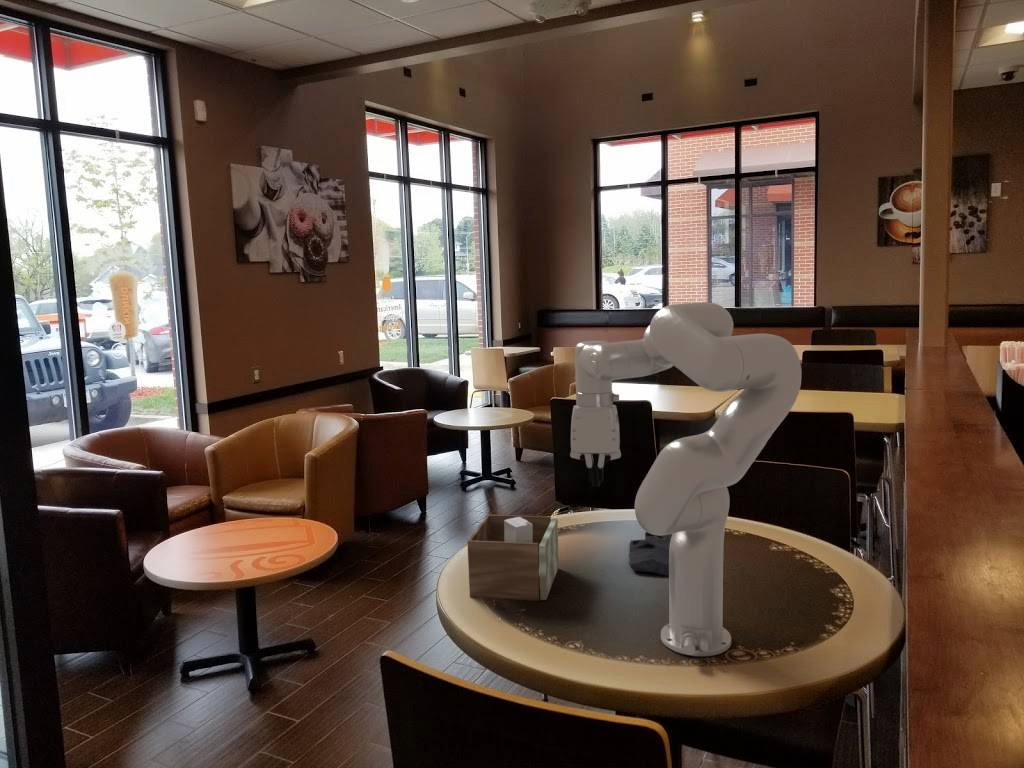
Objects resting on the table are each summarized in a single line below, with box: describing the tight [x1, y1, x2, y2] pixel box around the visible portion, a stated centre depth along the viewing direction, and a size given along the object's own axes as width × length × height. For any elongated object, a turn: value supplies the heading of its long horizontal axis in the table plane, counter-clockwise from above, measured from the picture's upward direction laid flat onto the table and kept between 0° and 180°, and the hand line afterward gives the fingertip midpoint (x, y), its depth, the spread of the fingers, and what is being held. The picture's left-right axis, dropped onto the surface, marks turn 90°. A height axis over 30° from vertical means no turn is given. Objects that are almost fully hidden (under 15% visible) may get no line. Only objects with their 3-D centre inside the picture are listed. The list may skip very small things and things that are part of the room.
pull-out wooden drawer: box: [538, 517, 560, 601], centre depth 168 cm, size 18×15×12 cm
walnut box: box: [466, 513, 552, 602], centre depth 168 cm, size 18×15×12 cm
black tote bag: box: [628, 531, 672, 577], centre depth 180 cm, size 15×22×5 cm
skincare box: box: [504, 517, 533, 543], centre depth 168 cm, size 6×4×12 cm
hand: (596, 484), depth 162 cm, fingers closed
